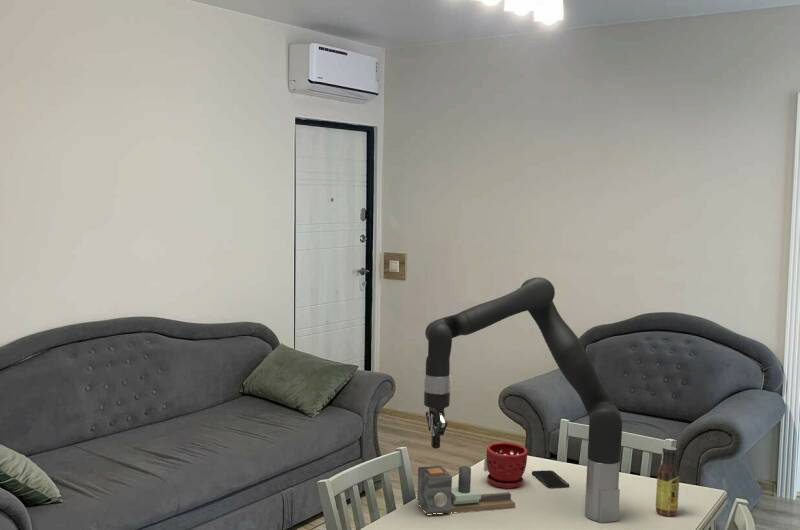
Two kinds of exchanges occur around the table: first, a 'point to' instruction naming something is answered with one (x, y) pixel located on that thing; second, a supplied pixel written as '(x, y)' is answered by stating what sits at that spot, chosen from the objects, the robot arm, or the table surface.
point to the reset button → (434, 471)
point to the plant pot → (506, 464)
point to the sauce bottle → (667, 483)
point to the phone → (550, 479)
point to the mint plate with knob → (465, 488)
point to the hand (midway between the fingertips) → (435, 447)
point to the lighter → (486, 463)
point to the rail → (438, 497)
